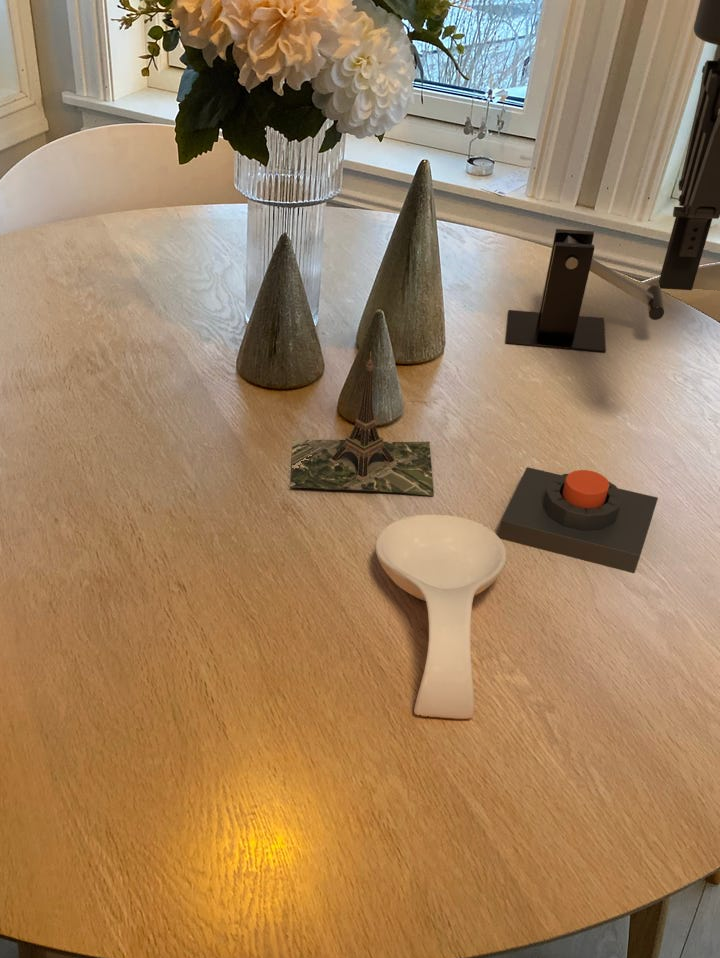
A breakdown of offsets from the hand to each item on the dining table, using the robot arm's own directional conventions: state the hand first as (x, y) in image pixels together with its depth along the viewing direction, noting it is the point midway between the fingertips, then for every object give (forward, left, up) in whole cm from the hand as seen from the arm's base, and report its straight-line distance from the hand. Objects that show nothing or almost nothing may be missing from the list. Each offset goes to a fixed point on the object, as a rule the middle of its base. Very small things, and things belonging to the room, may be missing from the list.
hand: (675, 285), depth 90 cm
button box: (+2, +11, -21) cm, 23 cm away
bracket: (+13, -27, -21) cm, 37 cm away
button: (+2, +11, -17) cm, 20 cm away
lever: (+9, -28, -13) cm, 32 cm away
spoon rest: (+10, +30, -21) cm, 38 cm away
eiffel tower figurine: (+25, +10, -21) cm, 34 cm away
